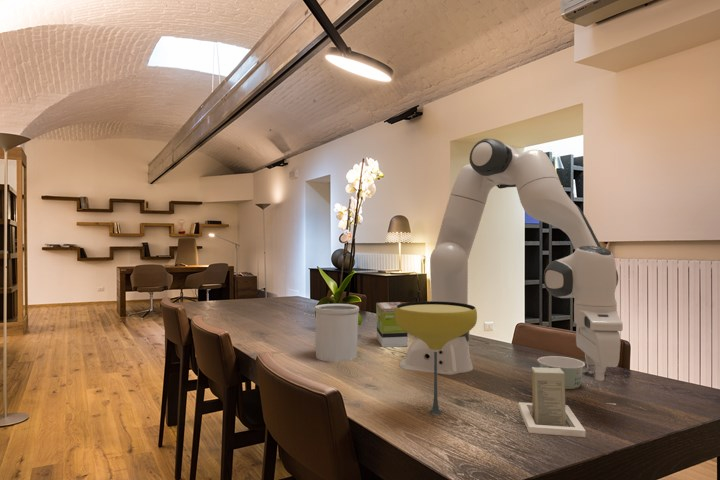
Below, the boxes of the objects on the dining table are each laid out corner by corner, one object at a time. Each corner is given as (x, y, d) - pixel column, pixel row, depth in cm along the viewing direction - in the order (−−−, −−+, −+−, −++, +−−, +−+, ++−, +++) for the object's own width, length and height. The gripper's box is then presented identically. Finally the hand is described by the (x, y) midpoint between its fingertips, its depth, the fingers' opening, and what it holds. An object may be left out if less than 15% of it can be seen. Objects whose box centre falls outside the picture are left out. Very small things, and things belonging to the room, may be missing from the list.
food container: (582, 395, 122) (582, 369, 122) (533, 387, 128) (533, 363, 128) (587, 383, 132) (587, 359, 132) (542, 376, 138) (542, 354, 138)
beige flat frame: (528, 439, 95) (528, 426, 95) (518, 413, 109) (518, 402, 109) (585, 443, 93) (585, 430, 93) (567, 416, 107) (567, 405, 107)
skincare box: (562, 423, 103) (562, 367, 103) (566, 431, 99) (566, 373, 99) (530, 421, 104) (530, 365, 104) (533, 429, 100) (533, 371, 100)
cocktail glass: (493, 428, 101) (493, 310, 100) (414, 439, 95) (413, 314, 95) (453, 400, 118) (452, 299, 118) (384, 408, 113) (383, 302, 113)
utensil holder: (351, 351, 169) (351, 302, 168) (365, 362, 154) (365, 308, 154) (310, 355, 164) (310, 304, 164) (321, 366, 150) (320, 310, 150)
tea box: (375, 338, 190) (375, 302, 190) (400, 338, 191) (400, 301, 191) (381, 347, 175) (381, 307, 175) (408, 346, 176) (408, 307, 176)
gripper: (569, 309, 121) (569, 363, 121) (593, 324, 100) (593, 389, 100) (595, 309, 119) (596, 364, 119) (625, 324, 99) (626, 390, 99)
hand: (595, 376), depth 110 cm, fingers open, 4 cm apart
